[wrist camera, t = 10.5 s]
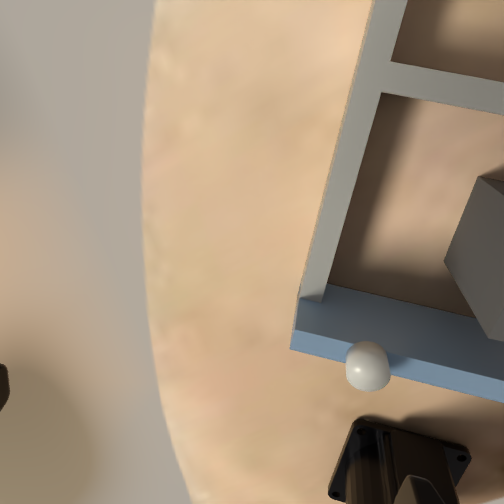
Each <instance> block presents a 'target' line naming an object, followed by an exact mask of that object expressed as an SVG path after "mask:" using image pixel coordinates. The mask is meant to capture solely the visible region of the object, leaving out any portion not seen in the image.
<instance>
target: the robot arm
mask: <svg viewBox="0 0 504 504" xmlns="http://www.w3.org/2000/svg"><path fill="white" fill-rule="evenodd" d="M9 394H10V387H9V378H8V370H7V367H6V366H5V365H4V364H0V411H1V410H2V408H3V407H4V405H5V404H6V402H7V400H8V398H9ZM359 428H363V429H359ZM471 459H472V458H471V455H470V452H469V449H468V448H466V447H464V446H461V445H458V444H454V443H450V442H446V441H442V440H439V439H435V438H431V437H427V436H423V435H419V434H416V433H412V432H408V431H404V430H400V429H397V428H393V427H389V426H385V425H381V424H378V423H374V422H370V421H366V420H361V419H359V420H356V421H354V422H353V423H352V425H351V428H350V431H349V433H348V436H347V439H346V441H345V444H344V446H343V449H342V452H341V454H340V457H339V459H338V462H337V465H336V467H335V470H334V472H333V475H332V478H331V480H330V483H329V486H328V495H329V497H330V498H332V499H334V500H338V501H341V502H345V503H346V504H460V503H459V499H458V496H457V492H456V489H455V487H456V485H457V484H458V482H459V480H460V478H461V477H462V475H463V473H464V472H465V470H466V468H467V467H468V465H469V463H470V461H471Z"/></svg>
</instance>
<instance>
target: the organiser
mask: <svg viewBox="0 0 504 504" xmlns="http://www.w3.org/2000/svg"><path fill="white" fill-rule="evenodd" d="M407 1H408V0H373V1H372V5H371V9H370V13H369V17H368V21H367V24H366V28H365V32H364V36H363V40H362V44H361V48H360V52H359V56H358V60H357V64H356V68H355V72H354V76H353V79H352V83H351V87H350V91H349V95H348V99H347V103H346V107H345V111H344V115H343V119H342V123H341V127H340V131H339V134H338V138H337V142H336V146H335V150H334V154H333V158H332V162H331V166H330V170H329V174H328V178H327V182H326V186H325V189H324V193H323V197H322V201H321V205H320V209H319V213H318V217H317V221H316V225H315V229H314V233H313V237H312V240H311V244H310V248H309V252H308V256H307V260H306V264H305V268H304V272H303V276H302V280H301V284H300V288H299V292H298V296H297V303H296V309H295V316H294V323H293V329H292V336H291V342H290V349H291V350H295V351H299V352H303V353H307V354H311V355H315V356H319V357H323V358H327V359H331V360H335V361H339V362H343V363H346V376H347V379H348V381H349V383H350V384H351V385H352V386H353V387H355V388H357V389H359V390H362V391H367V392H371V391H377V390H380V389H382V388H383V387H385V386H386V385H387V384H388V382H389V380H390V376H391V375H394V376H398V377H402V378H406V379H410V380H414V381H418V382H422V383H426V384H430V385H434V386H438V387H442V388H446V389H450V390H454V391H458V392H462V393H466V394H470V395H474V396H478V397H482V398H486V399H490V400H494V401H498V402H502V403H504V342H502V341H498V340H494V339H489V338H488V337H487V335H486V334H485V332H484V330H483V328H482V327H481V325H480V323H479V322H478V320H477V319H476V318H472V317H468V316H464V315H459V314H455V313H451V312H447V311H442V310H438V309H434V308H430V307H425V306H421V305H417V304H413V303H408V302H404V301H400V300H396V299H391V298H387V297H383V296H379V295H374V294H370V293H366V292H362V291H357V290H353V289H349V288H345V287H340V286H336V285H332V284H327V280H328V277H329V273H330V270H331V266H332V263H333V259H334V256H335V252H336V249H337V245H338V242H339V238H340V235H341V231H342V228H343V224H344V221H345V217H346V214H347V210H348V207H349V203H350V200H351V196H352V193H353V189H354V186H355V182H356V179H357V175H358V172H359V168H360V165H361V162H362V158H363V155H364V151H365V148H366V144H367V141H368V137H369V134H370V130H371V127H372V123H373V120H374V116H375V113H376V109H377V106H378V102H379V99H380V95H381V92H385V93H390V94H395V95H400V96H405V97H411V98H416V99H421V100H426V101H432V102H437V103H442V104H447V105H452V106H458V107H463V108H468V109H473V110H479V111H484V112H489V113H494V114H500V115H504V82H499V81H494V80H488V79H483V78H478V77H472V76H467V75H461V74H456V73H450V72H445V71H440V70H434V69H429V68H423V67H418V66H413V65H407V64H402V63H396V62H391V61H390V60H391V57H392V53H393V50H394V46H395V43H396V39H397V36H398V32H399V29H400V25H401V22H402V18H403V15H404V11H405V8H406V4H407Z"/></svg>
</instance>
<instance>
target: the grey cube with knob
mask: <svg viewBox="0 0 504 504" xmlns="http://www.w3.org/2000/svg"><path fill="white" fill-rule="evenodd" d="M444 263H445V264H446V266H447V268H448V270H449V271H450V273H451V275H452V277H453V278H454V280H455V282H456V283H457V285H458V287H459V289H460V290H461V292H462V294H463V296H464V297H465V299H466V301H467V302H468V304H469V306H470V308H471V309H472V311H473V313H474V315H475V316H476V318H477V320H478V322H479V323H480V325H481V327H482V328H483V330H484V332H485V334H486V335H487V337H488V338H489V339H494V340H498V341H502V342H504V181H499V180H494V179H489V178H484V177H479V176H478V177H477V180H476V182H475V185H474V187H473V190H472V192H471V195H470V197H469V200H468V202H467V204H466V207H465V209H464V212H463V214H462V217H461V219H460V222H459V224H458V227H457V229H456V231H455V234H454V236H453V239H452V241H451V244H450V246H449V249H448V251H447V254H446V256H445V259H444Z"/></svg>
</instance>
